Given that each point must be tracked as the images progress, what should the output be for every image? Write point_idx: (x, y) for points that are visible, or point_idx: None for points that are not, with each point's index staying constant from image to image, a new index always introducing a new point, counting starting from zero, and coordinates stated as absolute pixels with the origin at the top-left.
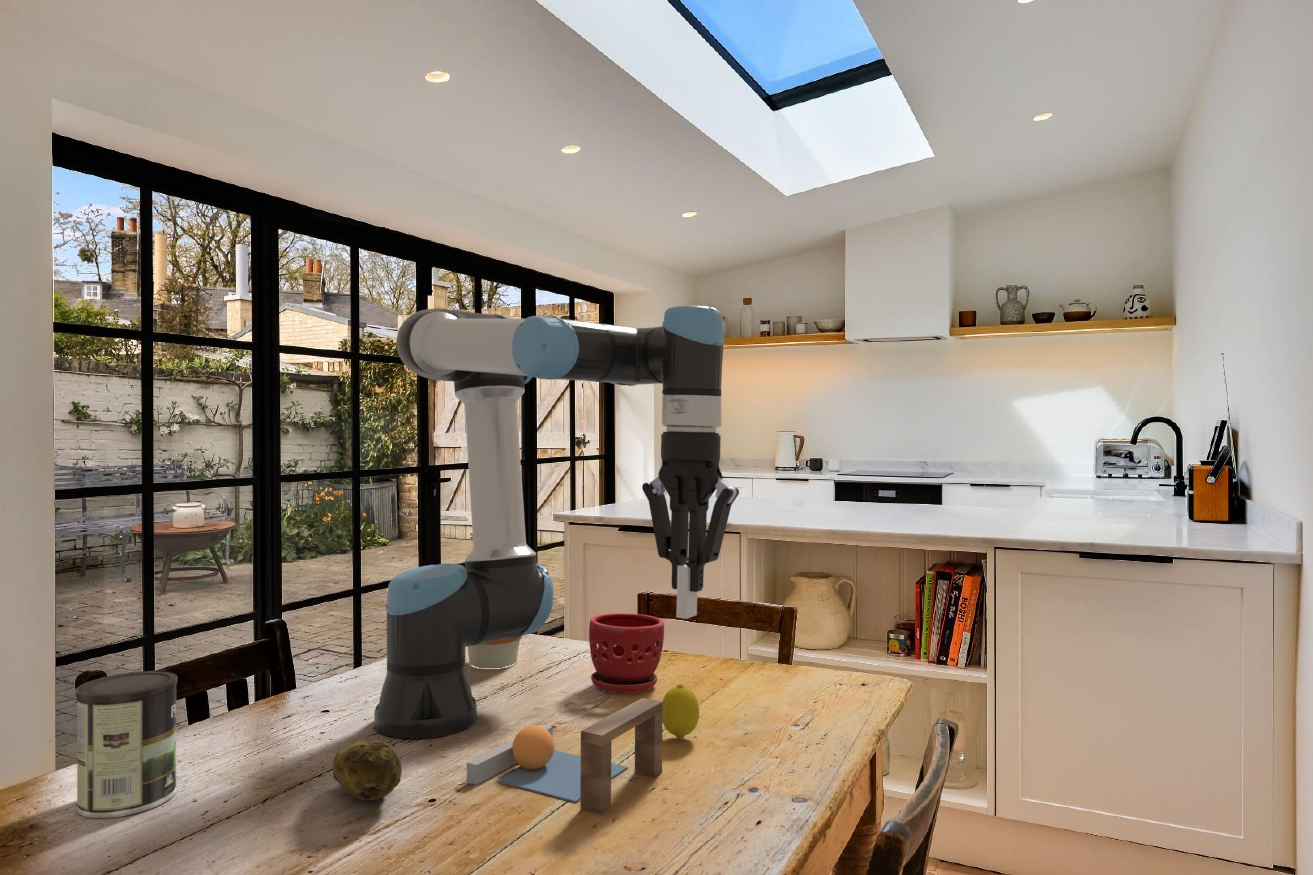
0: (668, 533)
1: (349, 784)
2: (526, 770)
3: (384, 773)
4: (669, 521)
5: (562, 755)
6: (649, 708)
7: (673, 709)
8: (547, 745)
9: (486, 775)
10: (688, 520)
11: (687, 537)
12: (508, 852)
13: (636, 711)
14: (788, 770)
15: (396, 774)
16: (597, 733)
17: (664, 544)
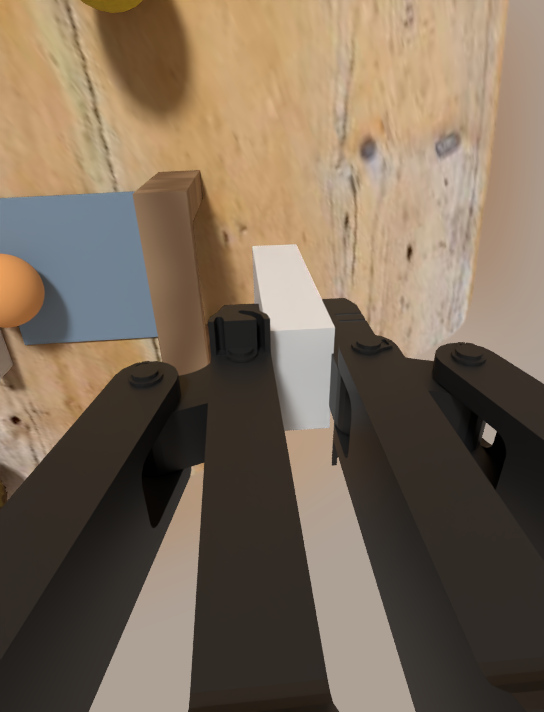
0: (132, 513)
1: None
2: None
3: None
4: (69, 567)
5: (11, 213)
6: (192, 249)
7: (112, 4)
8: (36, 298)
9: (3, 348)
10: (306, 562)
11: (285, 444)
12: None
13: (182, 279)
14: (401, 16)
15: (1, 496)
16: None
17: (172, 516)
